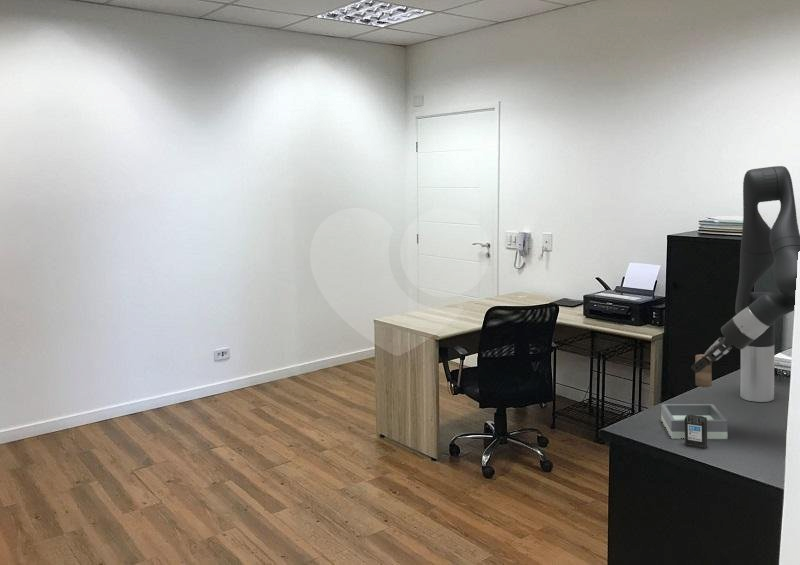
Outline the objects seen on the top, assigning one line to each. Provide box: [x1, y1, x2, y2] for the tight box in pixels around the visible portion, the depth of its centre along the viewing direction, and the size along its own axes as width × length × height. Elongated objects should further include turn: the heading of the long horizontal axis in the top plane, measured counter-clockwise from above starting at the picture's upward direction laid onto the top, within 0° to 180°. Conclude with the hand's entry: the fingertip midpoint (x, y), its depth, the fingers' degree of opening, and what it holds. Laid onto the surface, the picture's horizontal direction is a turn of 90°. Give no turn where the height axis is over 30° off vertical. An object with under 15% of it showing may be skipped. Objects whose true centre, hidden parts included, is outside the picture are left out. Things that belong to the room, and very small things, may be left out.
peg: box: [694, 353, 713, 388], centre depth 182 cm, size 4×4×8 cm
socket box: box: [660, 403, 728, 440], centre depth 186 cm, size 14×14×5 cm
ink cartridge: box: [684, 415, 708, 450], centre depth 174 cm, size 5×2×8 cm, turn 51°
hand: (695, 367), depth 183 cm, fingers closed on peg, 4 cm apart
